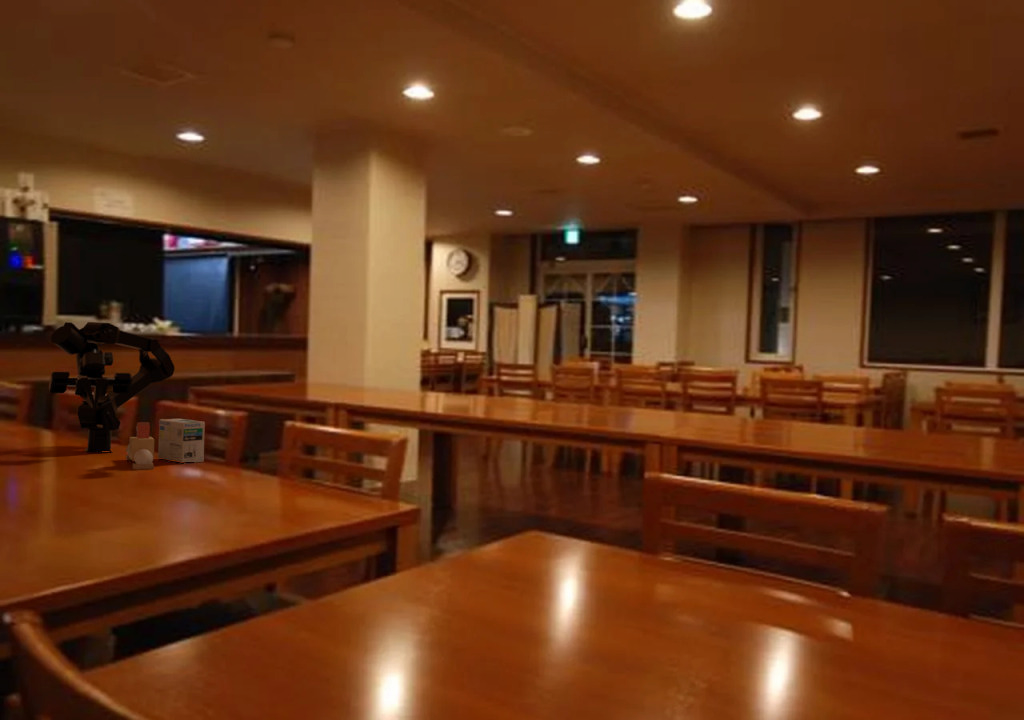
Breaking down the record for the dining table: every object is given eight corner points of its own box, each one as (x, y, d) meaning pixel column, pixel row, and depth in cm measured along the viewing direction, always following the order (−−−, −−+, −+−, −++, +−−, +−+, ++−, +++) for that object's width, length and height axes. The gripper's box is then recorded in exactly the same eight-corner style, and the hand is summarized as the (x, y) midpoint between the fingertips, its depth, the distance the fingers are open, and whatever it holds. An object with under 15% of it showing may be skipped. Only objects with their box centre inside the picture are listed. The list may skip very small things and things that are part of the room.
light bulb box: (204, 462, 214) (206, 421, 214) (182, 464, 208) (183, 422, 208) (178, 457, 220) (180, 417, 220) (156, 459, 214) (158, 418, 214)
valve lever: (136, 438, 191) (137, 424, 191) (135, 432, 203) (136, 419, 203) (149, 438, 193) (150, 425, 193) (148, 432, 204) (148, 419, 204)
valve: (124, 459, 211) (125, 426, 211) (144, 458, 214) (146, 426, 214) (132, 469, 197) (133, 434, 197) (154, 468, 199) (156, 434, 199)
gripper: (52, 339, 205) (57, 386, 197) (132, 342, 217) (140, 387, 208) (47, 369, 212) (51, 415, 203) (124, 370, 223) (131, 414, 214)
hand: (94, 407), depth 207 cm, fingers closed
